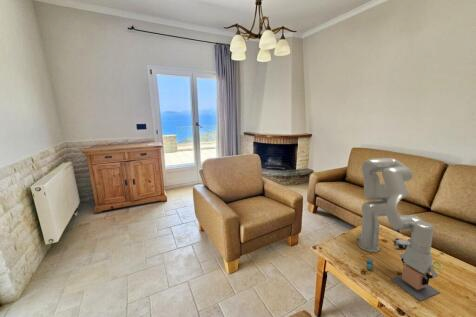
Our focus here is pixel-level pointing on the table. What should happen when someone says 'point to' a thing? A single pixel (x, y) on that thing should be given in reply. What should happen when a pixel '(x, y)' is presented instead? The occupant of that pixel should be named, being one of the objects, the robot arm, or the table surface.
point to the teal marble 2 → (369, 266)
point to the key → (438, 263)
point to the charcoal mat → (418, 294)
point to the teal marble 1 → (369, 261)
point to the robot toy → (401, 243)
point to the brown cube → (413, 277)
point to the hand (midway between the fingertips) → (415, 278)
